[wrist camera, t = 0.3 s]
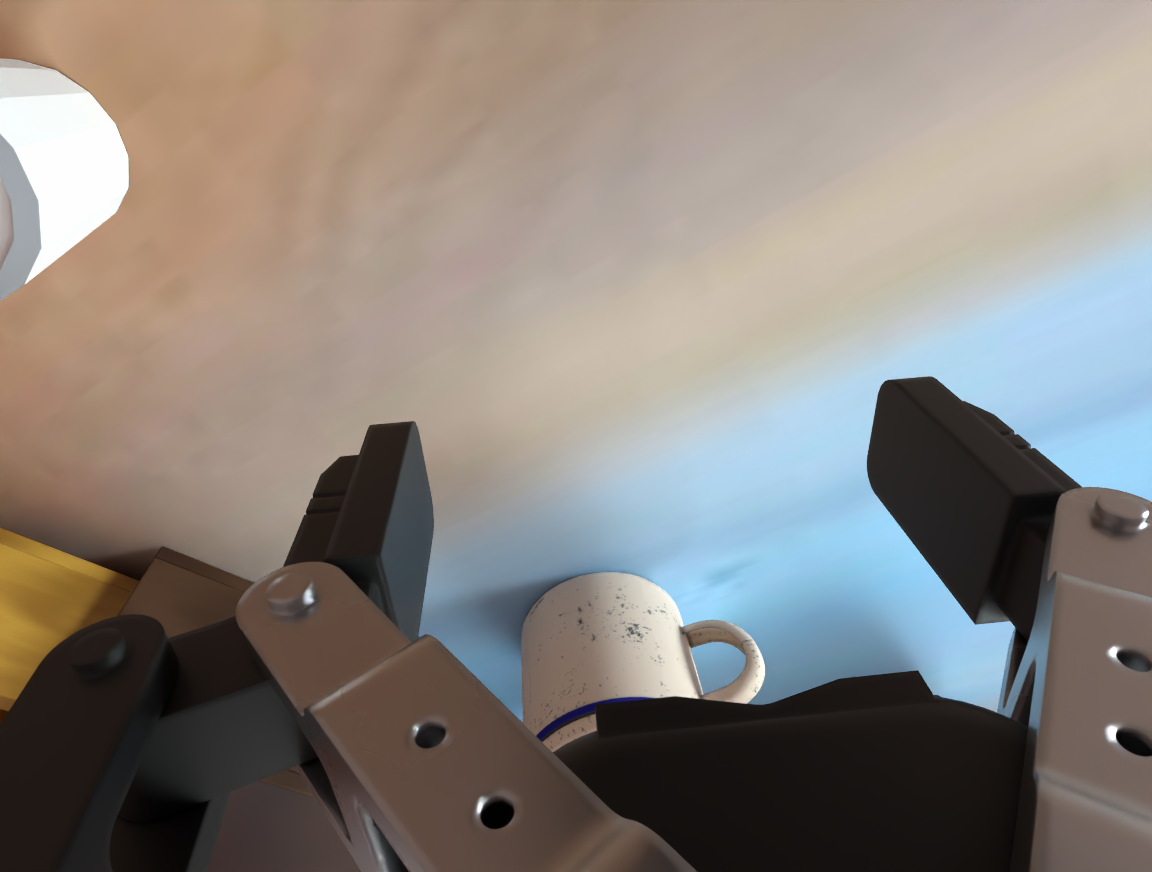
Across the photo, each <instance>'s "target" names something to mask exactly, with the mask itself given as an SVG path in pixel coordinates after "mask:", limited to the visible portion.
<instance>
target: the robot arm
mask: <svg viewBox="0 0 1152 872" xmlns="http://www.w3.org/2000/svg"><path fill="white" fill-rule="evenodd" d="M867 472H868V478H869V481H870V484H871V487H872V489H873V491H874V493H875V494H876V495H877V497H878V498H879V499H880V501H881V502H882V503H883V505H884V506H885V507H886V509H887V510H888V511H889V512H890V514H891V515H892V516H893V518H894V519H895V520H896V522H897V523H898V524H899V526H900V527H901V528H902V529H903V531H904V532H905V533H906V535H907V536H908V537H909V539H910V540H911V541H912V542H913V544H914V545H915V546H916V548H917V549H918V550H919V552H920V553H921V554H922V556H923V557H924V558H925V559H926V561H927V562H928V563H929V565H930V566H931V567H932V569H933V570H934V571H935V573H936V574H937V575H938V576H939V578H940V579H941V580H942V582H943V583H944V584H945V586H946V587H947V588H948V590H949V591H950V592H951V593H952V595H953V596H954V597H955V599H956V600H957V601H958V603H959V604H960V605H961V607H962V608H963V609H964V610H965V612H966V613H967V614H968V616H969V617H970V618H971V620H972V621H973V622H974V623H975V624H985V623H995V622H1004V621H1011V622H1012V624H1013V625H1014V626H1015V629H1014V632H1013V635H1012V638H1011V641H1010V644H1009V648H1008V653H1007V659H1006V665H1005V670H1004V676H1003V682H1002V688H1001V693H1000V699H999V705H998V711H997V713H996V712H994V711H991V710H989V709H986V708H983V707H980V706H976V705H973V704H969V703H966V702H962V701H957V700H952V699H948V698H942V697H934V695H933V694H932V692H931V691H930V689H929V687H928V686H927V684H926V683H925V681H924V679H923V678H922V676H921V675H920V673H919V671H909V672H900V673H890V674H881V675H871V676H862V677H852V678H843V679H838V680H835V681H832V682H829V683H827V684H824V685H821V686H818V687H816V688H813V689H810V690H807V691H804V692H802V693H799V694H796V695H793V696H790V697H788V698H785V699H782V700H779V701H777V702H774V703H770V704H766V705H753V704H744V703H734V702H725V701H716V700H707V699H697V698H688V697H679V696H672V697H662V698H653V699H643V700H634V701H624V702H615V703H605V704H596V705H595V713H596V728H597V731H594V732H591V733H589V734H586V735H583V736H581V737H579V738H577V739H575V740H573V741H571V742H569V743H567V744H565V745H563V746H562V747H560V748H559V749H557V750H556V751H554V752H552V751H551V750H550V749H548V748H547V747H546V746H545V745H544V744H543V743H542V742H541V741H540V740H539V739H538V738H537V737H536V736H535V735H534V734H533V733H532V732H531V731H530V730H529V729H528V728H527V727H526V726H525V725H524V724H523V723H522V722H521V721H520V720H519V719H518V718H517V717H516V716H515V715H514V714H513V713H512V712H511V711H510V710H509V709H508V708H507V707H506V706H505V705H504V704H503V703H502V702H501V701H500V700H499V699H498V698H497V697H496V696H495V695H493V694H492V693H491V692H490V691H489V690H488V689H487V688H486V687H485V686H484V685H483V684H482V683H481V682H480V681H479V680H478V679H477V678H476V677H475V676H474V675H473V674H472V673H471V672H470V671H469V670H468V669H467V668H466V667H465V666H464V665H463V664H462V663H461V662H460V661H459V660H458V659H457V658H456V657H455V656H454V655H453V654H452V653H451V652H450V651H449V650H448V649H447V648H446V647H445V646H444V645H443V644H442V643H440V642H439V641H438V640H437V639H436V638H434V637H433V636H431V635H427V634H426V635H423V636H422V637H420V638H418V634H419V627H420V620H421V613H422V606H423V600H424V593H425V586H426V579H427V572H428V565H429V559H430V552H431V545H432V538H433V528H434V518H433V505H432V498H431V492H430V487H429V482H428V477H427V472H426V466H425V461H424V456H423V451H422V446H421V441H420V436H419V431H418V428H417V425H416V423H415V422H414V421H411V422H399V423H388V424H377V425H370V426H369V428H368V430H367V433H366V436H365V439H364V442H363V445H362V448H361V451H360V454H359V455H353V456H342V457H339V458H338V459H337V460H336V461H335V462H334V463H333V464H332V465H331V466H330V467H329V468H328V469H327V470H326V471H324V472H323V473H322V474H321V476H320V478H319V480H318V483H317V485H316V488H315V490H314V493H313V498H312V499H311V500H310V502H309V505H308V507H307V510H306V515H304V517H303V520H302V522H301V524H300V527H299V529H298V532H297V534H296V537H295V539H294V542H293V544H292V546H291V549H290V551H289V554H288V556H287V559H286V561H285V564H284V566H283V568H280V569H278V570H275V571H273V572H271V573H269V574H267V575H266V576H264V577H262V578H261V579H259V580H258V581H256V582H255V583H254V584H253V585H252V586H251V587H249V588H248V589H247V591H246V592H245V593H244V594H243V595H242V597H241V599H240V600H239V602H238V605H237V607H236V613H235V616H232V617H230V618H228V619H225V620H223V621H220V622H217V623H214V624H211V625H208V626H205V627H202V628H199V629H195V630H192V631H189V632H186V633H183V634H180V635H177V636H173V637H170V638H168V636H167V634H166V632H165V630H164V628H163V626H162V624H161V623H160V622H159V621H158V620H156V619H155V618H152V617H150V616H146V615H139V614H130V615H121V616H116V617H112V618H108V619H105V620H102V621H99V622H96V623H94V624H91V625H89V626H87V627H85V628H83V629H81V630H79V631H77V632H76V633H74V634H72V635H70V636H69V637H68V638H66V639H65V640H63V641H62V642H61V643H59V644H58V645H57V646H56V647H55V648H53V649H52V650H51V651H50V652H49V653H48V654H47V655H46V656H45V657H44V659H43V660H42V661H41V663H40V664H39V665H38V667H37V668H36V670H35V672H34V673H33V675H32V676H31V678H30V679H29V681H28V682H27V684H26V685H25V687H24V689H23V690H22V692H21V693H20V695H19V696H18V698H17V699H16V701H15V702H14V704H13V706H12V707H11V709H10V710H9V712H8V713H7V715H6V716H5V718H4V719H3V721H2V722H1V724H0V872H207V871H208V867H209V864H210V861H211V857H212V854H213V850H214V847H215V843H216V840H217V837H218V833H219V830H220V826H221V823H222V820H223V816H224V813H225V809H226V806H227V803H228V799H229V796H230V792H231V791H234V790H236V789H239V788H241V787H244V786H246V785H249V784H251V783H254V782H256V781H259V780H262V779H264V778H267V777H269V776H272V775H274V774H277V773H279V772H282V771H284V770H287V769H290V768H292V767H296V769H297V770H298V772H299V774H300V775H301V777H302V778H303V780H304V781H305V783H306V785H307V786H308V788H309V789H310V791H311V793H312V794H313V796H314V797H315V799H316V800H317V802H318V804H319V805H320V807H321V808H322V810H323V811H324V813H325V815H326V816H327V818H328V819H329V821H330V822H331V824H332V826H333V827H334V829H335V830H336V832H337V834H338V835H339V837H340V838H341V840H342V841H343V843H344V845H345V846H346V848H347V849H348V851H349V852H350V854H351V856H352V857H353V859H354V861H355V862H356V864H357V866H358V867H359V869H360V871H361V872H1152V502H1151V501H1149V500H1146V499H1144V498H1141V497H1139V496H1136V495H1133V494H1130V493H1127V492H1123V491H1119V490H1114V489H1108V488H1099V487H1084V488H1083V487H1081V486H1080V485H1079V484H1078V483H1077V482H1075V481H1074V480H1073V479H1072V478H1070V477H1069V476H1068V475H1067V474H1066V473H1064V472H1063V471H1062V470H1061V469H1060V468H1058V467H1057V466H1056V465H1055V464H1053V463H1052V462H1051V461H1050V460H1049V459H1047V458H1046V457H1045V456H1044V455H1043V454H1041V453H1040V452H1039V451H1038V450H1036V449H1035V448H1032V449H1031V445H1030V444H1029V443H1028V442H1027V441H1026V440H1024V439H1023V438H1022V437H1021V436H1019V435H1018V434H1017V435H1014V431H1013V430H1012V429H1011V428H1010V427H1009V426H1007V425H1006V424H1005V423H1004V422H1002V421H1001V420H1000V419H999V418H998V417H996V416H995V415H994V414H992V413H989V412H987V411H985V410H983V409H981V408H978V407H976V406H974V405H972V404H970V403H967V402H965V401H962V400H960V399H959V398H958V397H957V396H956V395H954V394H953V393H952V392H951V391H950V390H949V389H947V388H946V387H945V386H944V385H943V384H942V383H940V382H939V381H938V380H937V379H935V378H934V377H917V378H906V379H895V380H887V381H885V382H884V383H883V384H882V385H881V387H880V390H879V393H878V398H877V404H876V409H875V415H874V421H873V427H872V433H871V439H870V444H869V450H868V456H867Z"/></svg>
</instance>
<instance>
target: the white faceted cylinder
mask: <svg viewBox="0 0 1152 872" xmlns="http://www.w3.org/2000/svg"><path fill="white" fill-rule="evenodd" d="M128 188H129V171H128V154H127V152H126V149H125V147H124V144H123V142H122V139H121V137H120V134H119V132H118V129H117V127H116V124H115V123H114V121H113V120H112V119H111V118H110V117H109V115H108V114H107V113H106V112H105V111H104V109H103V108H102V107H101V106H100V104H99V103H98V102H97V101H96V100H95V98H94V97H93V96H92V95H91V94H90V93H89V92H88V91H86V90H85V89H84V88H82V87H81V86H79V85H78V84H76V83H75V82H73V81H72V80H70V79H69V78H67V77H66V76H64V75H63V74H61V73H60V72H58V71H57V70H54V69H50V68H47V67H43V66H40V65H36V64H32V63H29V62H25V61H22V60H16V59H3V58H0V301H1V300H2V299H4V298H5V297H7V296H8V295H10V294H11V293H13V292H14V291H16V290H17V289H19V288H20V287H22V286H23V285H25V284H26V283H27V282H29V281H30V280H31V279H32V278H34V277H35V276H36V275H38V274H39V273H40V272H41V271H43V270H44V269H45V268H46V267H48V266H49V265H50V264H52V263H53V262H54V261H55V260H57V259H58V258H59V257H60V256H62V255H63V254H64V253H65V252H67V251H68V250H69V249H71V248H72V247H73V246H74V245H76V244H77V243H78V242H79V241H81V240H82V239H83V238H84V237H86V236H87V235H88V234H90V233H91V232H92V231H93V230H95V229H96V228H97V227H98V226H100V225H101V224H102V223H104V222H105V221H106V220H107V219H109V218H110V217H111V216H112V215H114V214H115V213H116V212H117V210H118V208H119V206H120V204H121V202H122V200H123V198H124V196H125V194H126V192H127V190H128Z"/></svg>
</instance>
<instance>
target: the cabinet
mask: <svg viewBox="0 0 1152 872" xmlns="http://www.w3.org/2000/svg"><path fill="white" fill-rule="evenodd" d="M253 584H254V583H252V582H250V581H247V580H245V579H242V578H240V577H237V576H235V575H232V574H230V573H227V572H225V571H222V570H220V569H218V568H215V567H213V566H210V565H208V564H205V563H203V562H200V561H198V560H195V559H193V558H190V557H188V556H185V555H183V554H180V553H178V552H175V551H173V550H170V549H168V548H165V547H161V549H160V550H159V552H158V553H157V555H156V556H155V558H154V559H153V561H152V563H151V564H150V566H149V567H148V569H147V570H146V572H145V573H144V575H143V576H142V578H141V579H140V581H139V583H138V584H137V586H136V587H135V589H134V590H133V592H132V593H131V595H130V596H129V598H128V599H127V601H126V603H125V604H124V606H123V607H122V609H121V610H120V612H119V613H118V615H117V616H121V615H130V614H139V615H146V616H150V617H152V618H155V619H156V620H158V621H159V622H160V623H161V624H162V626H163V628H164V630H165V632H166V634H167V636H168V638H170V637H173V636H177V635H180V634H183V633H186V632H189V631H192V630H195V629H199V628H202V627H205V626H208V625H211V624H214V623H217V622H220V621H223V620H225V619H228V618H230V617H232V616H235V613H236V607H237V605H238V602H239V600H240V599H241V597H242V595H243V594H244V593H245V592H246V591H247V589H248V588H249V587H251V586H252V585H253ZM207 872H361V871H360V869H359V867H358V866H357V864H356V862H355V861H354V859H353V857H352V856H351V854H350V852H349V851H348V849H347V848H346V846H345V845H344V843H343V841H342V840H341V838H340V837H339V835H338V834H337V832H336V830H335V829H334V827H333V826H332V824H331V822H330V821H329V819H328V818H327V816H326V815H325V813H324V811H323V810H322V808H321V807H320V805H319V804H318V802H317V800H316V799H315V797H314V796H313V794H312V793H311V791H310V789H309V788H308V786H307V785H306V783H305V781H304V780H303V778H302V777H301V775H300V774H299V772H298V770H297V769H296V767H292V768H290V769H287V770H284V771H282V772H279V773H277V774H274V775H272V776H269V777H267V778H264V779H262V780H259V781H256V782H254V783H251V784H249V785H246V786H244V787H241V788H239V789H236V790H234V791H231V792H230V796H229V799H228V803H227V806H226V809H225V813H224V816H223V820H222V823H221V826H220V830H219V833H218V837H217V840H216V843H215V847H214V850H213V854H212V857H211V861H210V864H209V867H208V871H207Z"/></svg>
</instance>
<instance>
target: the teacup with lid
mask: <svg viewBox="0 0 1152 872" xmlns="http://www.w3.org/2000/svg"><path fill="white" fill-rule="evenodd" d="M711 642H724V643H728V644H731V645H733V646H735V647H736V648H738V649H739V650H741V651H742V652H743V653H744V654H745V656H746V664H745V667H744V669H743V671H742V673H741V674H740V675H739V677H738V678H737V679H736V680H735V681H733V682H732V683H730V684H729V685H727V686H725V687H723V688H721V689H718V690H715V691H713V692H710V693H707V694H703V691H702V687H701V684H700V681H699V677H698V674H697V670H696V667H695V663H694V660H693V657H692V653H691V648H693V647H696V646H699V645H702V644H706V643H711ZM521 661H522V703H523V724H524V725H525V726H526V727H527V728H528V729H529V730H530V731H531V732H532V733H533V734H534V735H535V736H536V737H537V738H538V739H539V740H540V741H541V742H542V743H543V744H544V745H545V746H546V747H547V748H548V749H550V750H551V751H552V752H554V751H556V750H557V749H559V748H560V747H562V746H563V745H565V744H567V743H569V742H571V741H573V740H575V739H577V738H579V737H581V736H583V735H586V734H589V733H591V732H594V731H597V728H596V713H595V705H596V704H605V703H615V702H624V701H634V700H643V699H653V698H662V697H672V696H679V697H688V698H697V699H707V700H716V701H725V702H734V703H744V704H747V703H748V702H749V701H750V700H752V698H753V697H754V696H755V695H756V694H757V692H758V691H759V689H760V688H761V686H762V684H763V681H764V677H765V665H764V661H763V657H762V655H761V653H760V650H759V648H758V647H757V645H756V643H755V642H754V640H753V639H752V638H751V637H750V636H749V635H748V634H747V633H746V632H745V631H744V630H742V629H741V628H740V627H738V626H736V625H734V624H732V623H729V622H726V621H722V620H705V621H700V622H696V623H693V624H689V625H687V626H683V622H682V619H681V615H680V612H679V610H678V608H677V606H676V604H675V603H674V601H673V600H672V598H671V597H670V596H669V595H668V594H667V593H666V592H665V591H664V590H663V589H662V588H660V587H659V586H658V585H656V584H654V583H653V582H651V581H649V580H646V579H644V578H641V577H639V576H635V575H631V574H626V573H619V572H598V573H590V574H586V575H581V576H578V577H575V578H572V579H569V580H567V581H565V582H563V583H561V584H559V585H557V586H555V587H554V588H552V589H551V590H549V591H548V592H547V593H545V594H544V595H543V596H542V597H541V598H540V599H539V600H538V601H537V602H536V603H535V604H534V605H533V607H532V608H531V610H530V611H529V613H528V615H527V617H526V619H525V621H524V624H523V628H522V633H521Z"/></svg>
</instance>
